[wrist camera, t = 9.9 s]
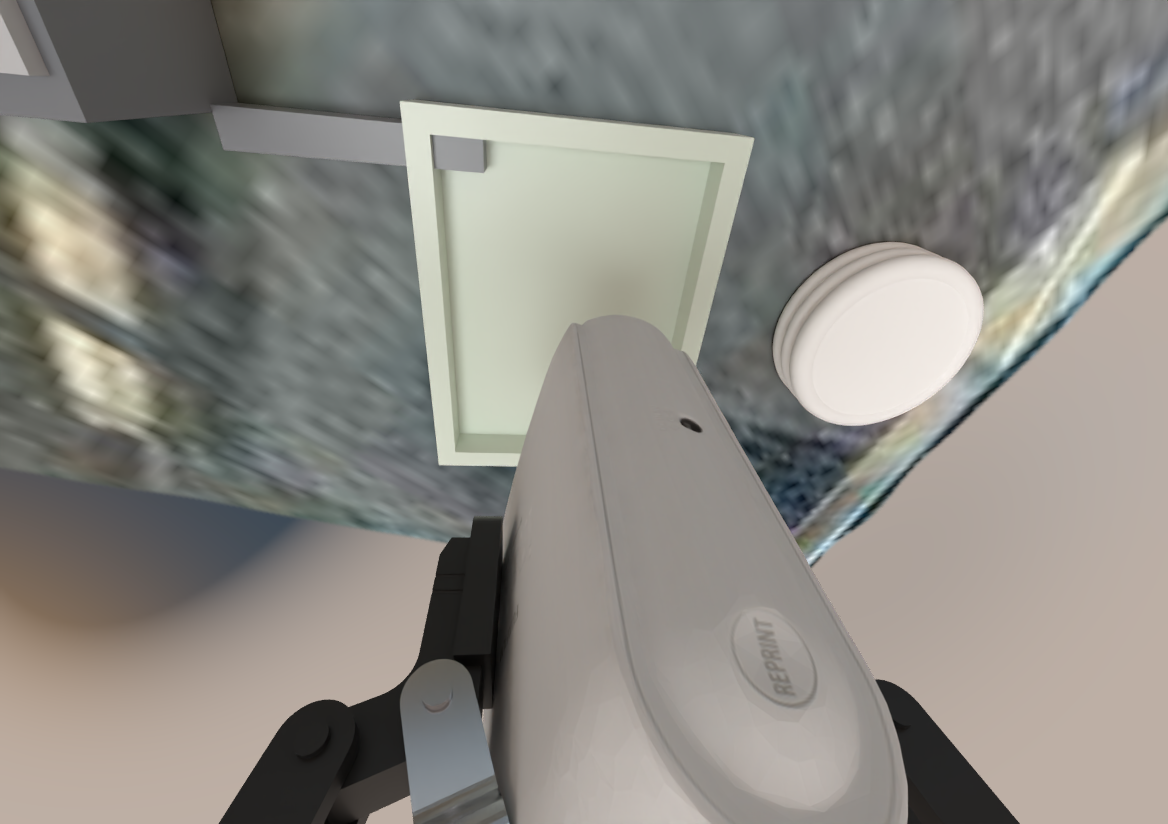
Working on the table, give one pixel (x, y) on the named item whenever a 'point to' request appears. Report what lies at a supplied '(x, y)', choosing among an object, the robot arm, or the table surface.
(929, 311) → the white round puck
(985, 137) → the table surface
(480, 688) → the robot arm
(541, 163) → the tray
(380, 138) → the dock
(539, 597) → the photo printer
